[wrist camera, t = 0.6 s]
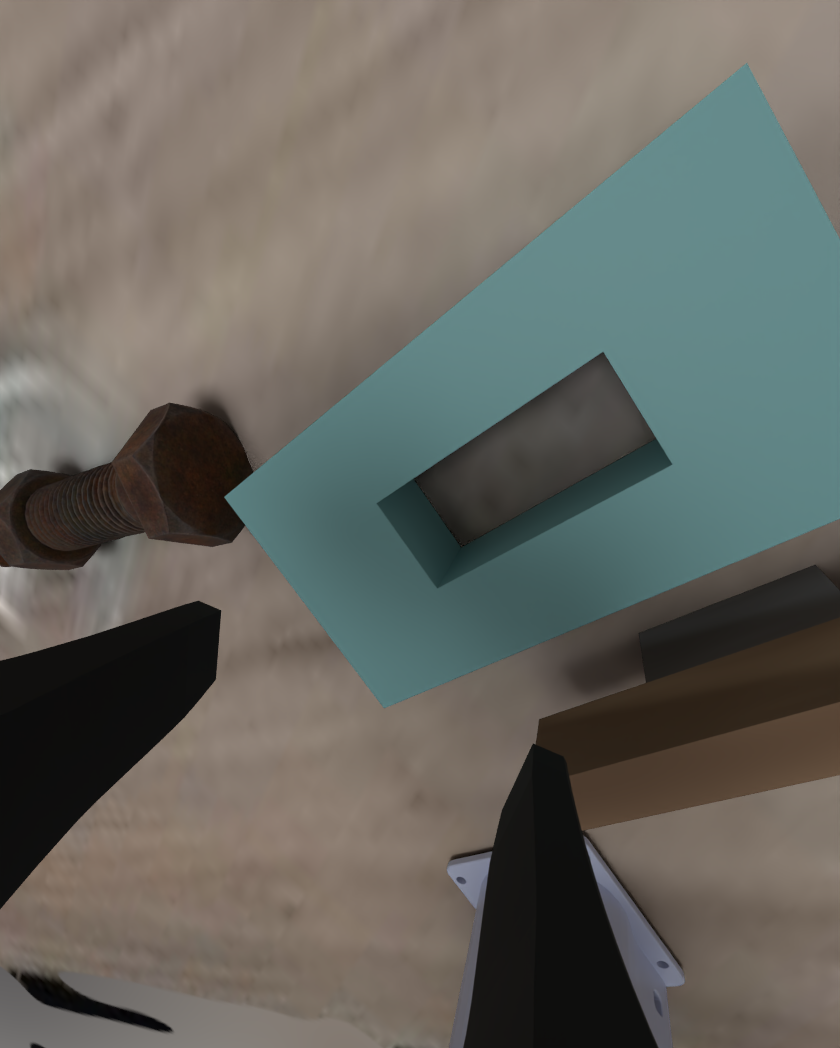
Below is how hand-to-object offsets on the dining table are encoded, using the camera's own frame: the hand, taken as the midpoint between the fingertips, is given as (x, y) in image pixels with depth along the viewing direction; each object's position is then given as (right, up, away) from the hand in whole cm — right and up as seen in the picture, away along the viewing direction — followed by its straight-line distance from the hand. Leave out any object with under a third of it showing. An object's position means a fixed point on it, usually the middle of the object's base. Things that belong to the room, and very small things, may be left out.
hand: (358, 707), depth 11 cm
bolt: (-13, +6, +14) cm, 20 cm away
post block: (+5, +6, +7) cm, 11 cm away
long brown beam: (+12, 0, +7) cm, 14 cm away
